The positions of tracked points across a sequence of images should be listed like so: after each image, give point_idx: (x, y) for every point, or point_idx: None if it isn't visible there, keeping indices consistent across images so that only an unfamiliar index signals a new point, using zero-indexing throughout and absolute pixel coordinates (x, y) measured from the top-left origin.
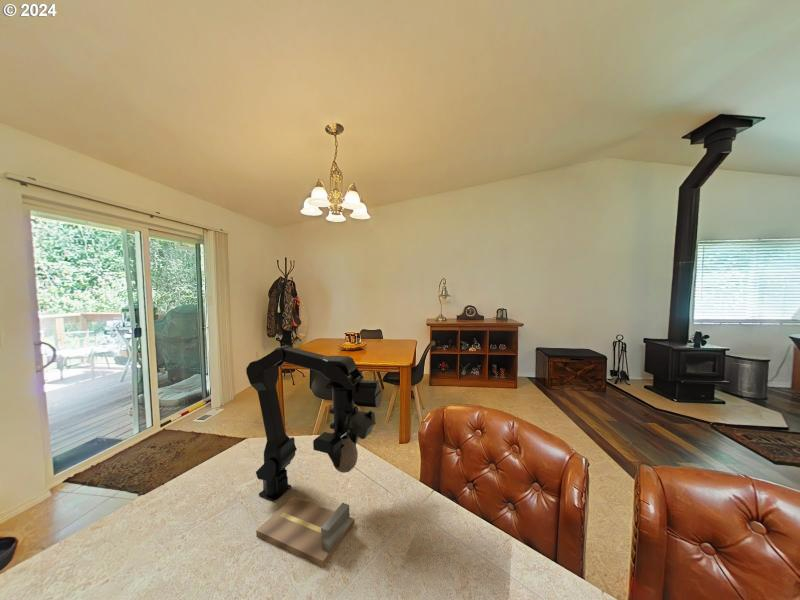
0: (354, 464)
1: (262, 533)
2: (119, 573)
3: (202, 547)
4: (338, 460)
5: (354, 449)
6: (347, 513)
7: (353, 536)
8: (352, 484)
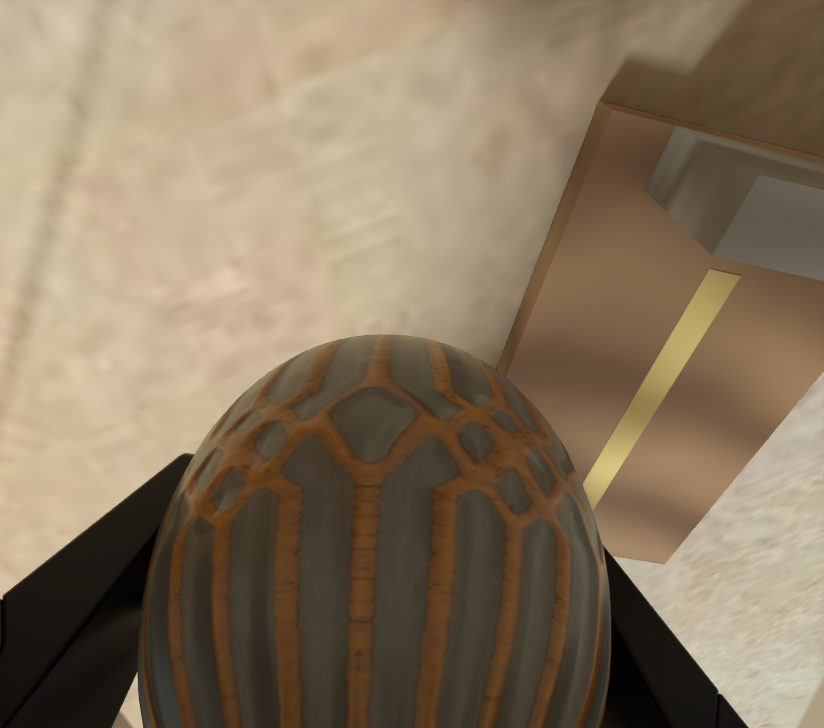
0: (447, 354)
1: (683, 538)
2: (748, 720)
3: (687, 638)
4: (672, 639)
5: (396, 576)
6: (758, 164)
7: (711, 65)
8: (206, 266)
